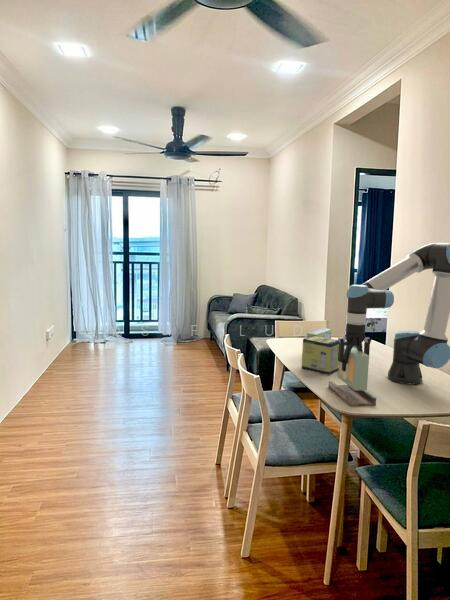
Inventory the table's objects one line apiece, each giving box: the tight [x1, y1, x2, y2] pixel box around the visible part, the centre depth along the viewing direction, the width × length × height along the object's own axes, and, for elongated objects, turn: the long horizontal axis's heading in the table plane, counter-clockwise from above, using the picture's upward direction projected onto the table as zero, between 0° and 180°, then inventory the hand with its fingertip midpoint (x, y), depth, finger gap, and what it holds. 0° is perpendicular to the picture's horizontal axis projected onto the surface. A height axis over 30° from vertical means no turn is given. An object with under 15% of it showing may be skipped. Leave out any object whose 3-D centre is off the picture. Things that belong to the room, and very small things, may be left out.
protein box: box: [301, 336, 339, 376], centre depth 215 cm, size 10×16×16 cm
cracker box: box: [337, 346, 370, 391], centre depth 178 cm, size 16×5×14 cm, turn 9°
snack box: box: [306, 327, 333, 339], centre depth 238 cm, size 21×6×15 cm, turn 143°
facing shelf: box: [328, 380, 377, 407], centre depth 179 cm, size 11×22×3 cm, turn 9°
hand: (352, 378), depth 178 cm, fingers closed on cracker box, 5 cm apart
